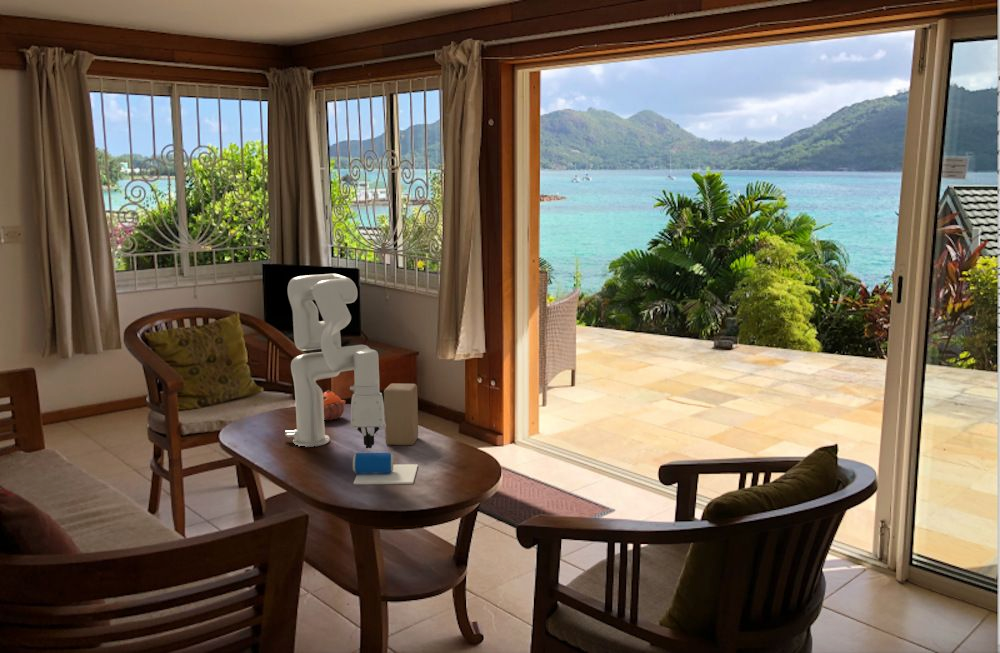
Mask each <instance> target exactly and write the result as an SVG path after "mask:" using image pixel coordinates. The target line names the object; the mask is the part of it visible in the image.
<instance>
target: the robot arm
mask: <svg viewBox="0 0 1000 653" xmlns="http://www.w3.org/2000/svg"><path fill="white" fill-rule="evenodd" d="M287 297H288V301H289V304H290V307H291V311H292V322H293V323H292V326H293V340H294V345H295V347H296V349H298V350H299V351H314V350H321V351H319V352H309V353H303V354H299V355H297V356H295V357H294V358H293V359H292V360H291V361H290V362H291V363H290V371H291V372H290V373H291V376H292V381H293V386H294V398H295V401H294V402H295V414H296V415H295V416H296V418H295V419H296V420H295V421H296V429H294V430H285V432H284V436H286V437H287V438H293V440H292V443H294V444H295V445H294V444H293V445H294V446H296V445H298V446H297V447H300V446H305V447H304V448H314V446H315V447H320V446H323V445H326V444H328V443H329V442H330V436H329V435H327V434H326V428H325V427H326V426H325V421H324V402H323V393H324V392H323V390H322V388H321V387H320V386H319V385H318V383H317V382H316V381H320V380H325V379H330V378H335V377H338V376H339V375H341V374H340V373H341V372H347V371H354V372H353V373H354V374H353V379H354V380H353V382H354V384H353V385H350V386H349V390H350V391H352V392H353V394H352V395H351V402H350V425H351V426H350V428H351V430H355V431H358V432H360V434H362V436H363V446H365V448H366V449H372V447H373V446H374V445H375V434H376V433H377V432H378V431H381V430H385V428H386V424H385V407H384V396H383V393H382V392H380V389H381V388H380V369H379V368H380V367H379V365H380V364H379V362H380V361H379V360H380V359H379V353H378V351H377V350H376V349H372V348H370V347H369V346H368V345H365V344H356V345H347V346H342V339H341V338H342V337H341V330H343V329H345V328H346V327H347V326H348V325H349V324H350V322H351V320H352V315H351V313H350V310H349V308H348V307H347V304H352V303H355V301H356V300H357V299H358V288H357V286H356V283H355V282H354V281H353V280H352V279H351V278H350V277H347V276H344V275H341V274H338V273H324V274H309V275H308V274H307V275H306V274H305V275H299V276H295V277H292V278H291V279H290V280H289V282H288V285H287ZM314 301H315V303H314ZM319 313H320V316H321V318H322V320H321V321H320V320H319ZM368 428H370V431H368Z"/></svg>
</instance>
